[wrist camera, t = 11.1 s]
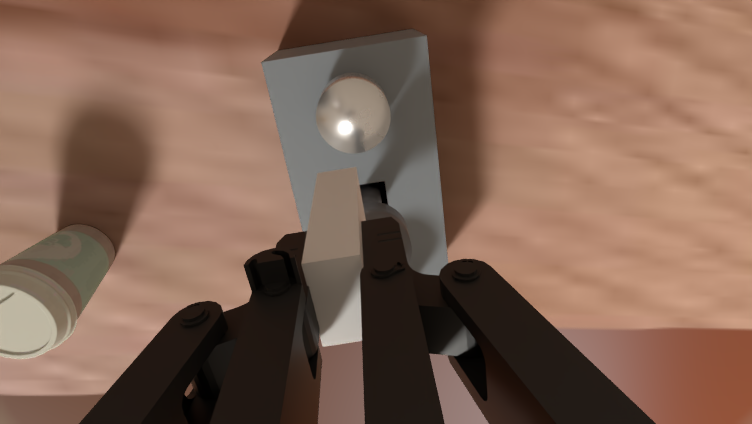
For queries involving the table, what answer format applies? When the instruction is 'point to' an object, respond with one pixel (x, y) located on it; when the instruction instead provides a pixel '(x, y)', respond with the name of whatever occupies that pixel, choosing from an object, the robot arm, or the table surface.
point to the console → (392, 155)
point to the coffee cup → (50, 289)
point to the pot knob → (383, 212)
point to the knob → (353, 113)
